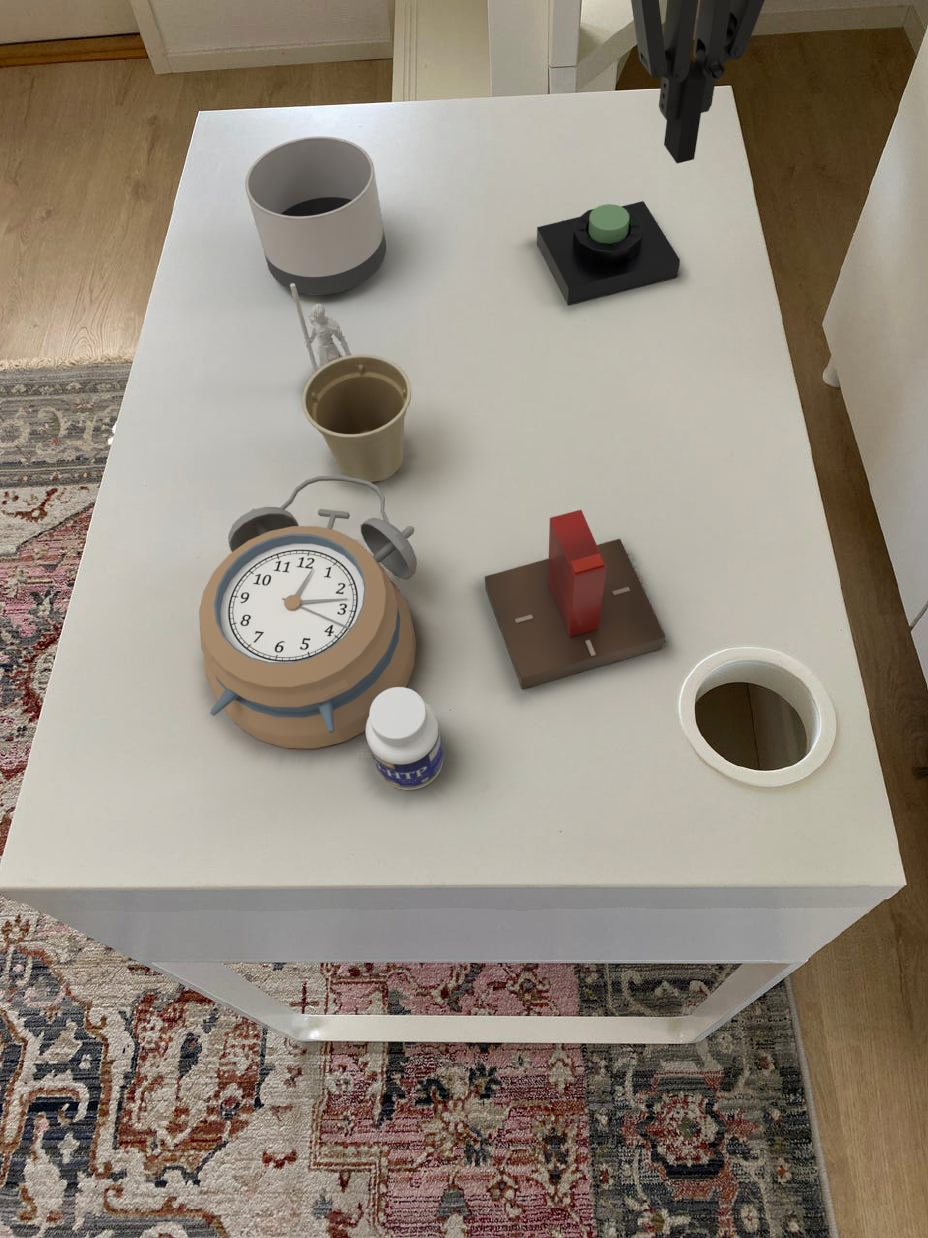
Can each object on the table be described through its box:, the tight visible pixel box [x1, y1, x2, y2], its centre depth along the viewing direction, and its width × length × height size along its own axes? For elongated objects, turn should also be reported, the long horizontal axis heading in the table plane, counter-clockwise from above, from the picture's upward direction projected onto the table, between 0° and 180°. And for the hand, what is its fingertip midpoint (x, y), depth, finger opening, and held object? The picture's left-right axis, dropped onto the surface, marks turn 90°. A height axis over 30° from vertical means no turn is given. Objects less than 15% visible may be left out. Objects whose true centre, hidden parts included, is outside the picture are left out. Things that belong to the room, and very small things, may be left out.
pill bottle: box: [365, 687, 444, 791], centre depth 69 cm, size 5×5×9 cm
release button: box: [589, 203, 629, 244], centre depth 96 cm, size 4×4×2 cm
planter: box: [244, 135, 387, 296], centre depth 97 cm, size 13×13×10 cm
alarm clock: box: [198, 475, 418, 750], centre depth 75 cm, size 17×9×23 cm
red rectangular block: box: [548, 509, 607, 637], centre depth 72 cm, size 6×2×9 cm, turn 16°
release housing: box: [536, 200, 681, 306], centre depth 98 cm, size 12×10×4 cm
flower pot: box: [301, 353, 412, 483], centre depth 84 cm, size 9×9×9 cm
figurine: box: [290, 283, 353, 374], centre depth 87 cm, size 5×5×12 cm
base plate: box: [484, 538, 666, 690], centre depth 77 cm, size 12×10×2 cm
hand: (678, 151), depth 76 cm, fingers closed
